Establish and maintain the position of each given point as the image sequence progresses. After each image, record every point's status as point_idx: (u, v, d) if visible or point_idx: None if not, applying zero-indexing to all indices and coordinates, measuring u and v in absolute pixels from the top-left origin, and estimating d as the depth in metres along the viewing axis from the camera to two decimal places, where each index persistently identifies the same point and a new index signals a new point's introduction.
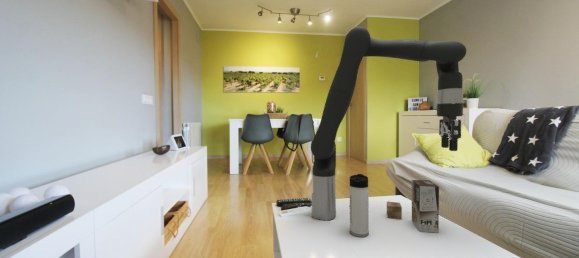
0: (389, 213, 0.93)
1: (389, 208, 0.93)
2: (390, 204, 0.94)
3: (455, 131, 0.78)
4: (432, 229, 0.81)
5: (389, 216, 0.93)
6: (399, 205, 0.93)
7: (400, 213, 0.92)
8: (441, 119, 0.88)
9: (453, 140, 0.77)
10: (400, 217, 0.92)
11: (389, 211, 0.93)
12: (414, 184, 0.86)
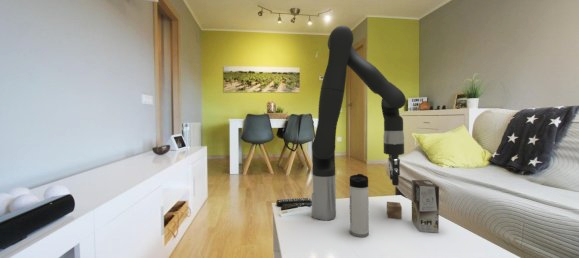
0: (389, 213, 0.93)
1: (389, 208, 0.93)
2: (390, 204, 0.94)
3: None
4: (432, 229, 0.81)
5: (389, 216, 0.93)
6: (399, 205, 0.93)
7: (400, 213, 0.92)
8: None
9: (394, 176, 0.89)
10: (400, 217, 0.92)
11: (389, 211, 0.93)
12: (414, 184, 0.86)
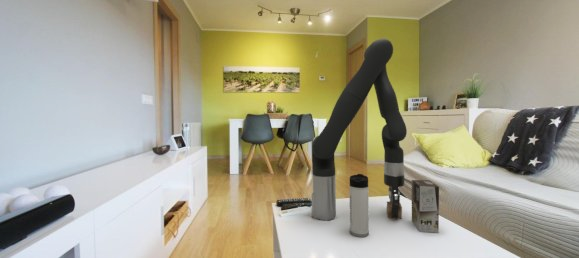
0: (389, 213, 0.93)
1: (389, 208, 0.93)
2: (390, 204, 0.94)
3: None
4: (432, 229, 0.81)
5: (389, 216, 0.93)
6: (399, 205, 0.93)
7: (400, 213, 0.92)
8: None
9: (394, 209, 0.91)
10: (400, 217, 0.92)
11: (389, 211, 0.93)
12: (414, 184, 0.86)
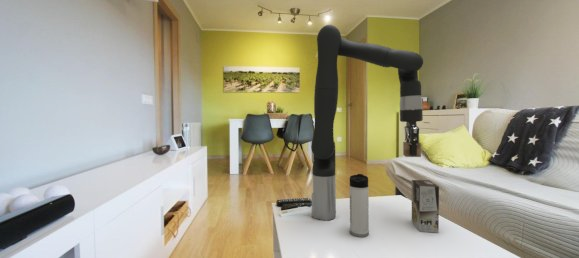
0: (407, 151, 0.86)
1: (407, 146, 0.86)
2: (408, 142, 0.88)
3: None
4: (432, 229, 0.81)
5: (407, 154, 0.86)
6: None
7: (419, 150, 0.85)
8: (405, 126, 0.94)
9: (412, 145, 0.84)
10: (419, 154, 0.85)
11: (407, 149, 0.86)
12: (414, 184, 0.86)
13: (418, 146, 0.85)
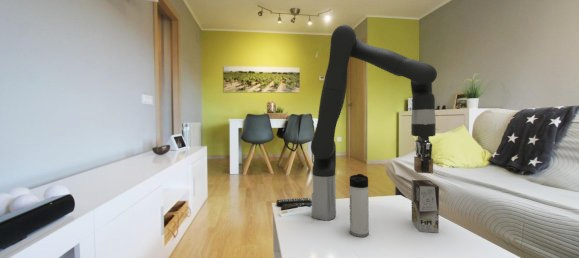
0: (419, 167, 0.83)
1: (419, 161, 0.83)
2: (419, 158, 0.84)
3: None
4: (432, 229, 0.81)
5: (419, 170, 0.83)
6: None
7: (431, 166, 0.81)
8: None
9: (424, 161, 0.81)
10: (431, 171, 0.81)
11: (419, 165, 0.83)
12: (414, 184, 0.86)
13: (430, 162, 0.81)
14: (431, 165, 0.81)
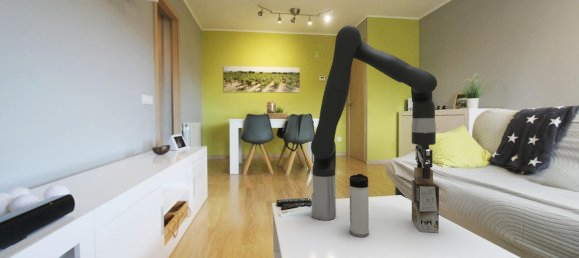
0: (418, 178, 0.83)
1: (418, 173, 0.83)
2: (419, 169, 0.84)
3: (428, 160, 0.80)
4: (432, 229, 0.81)
5: (418, 182, 0.83)
6: None
7: (431, 178, 0.82)
8: (417, 145, 0.90)
9: (425, 169, 0.80)
10: (431, 182, 0.82)
11: (418, 176, 0.83)
12: (414, 184, 0.86)
13: (430, 174, 0.82)
14: (431, 177, 0.82)
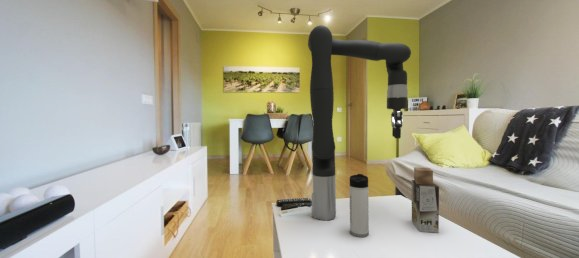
0: (418, 178, 0.83)
1: (418, 173, 0.83)
2: (419, 169, 0.84)
3: (399, 121, 0.90)
4: (432, 229, 0.81)
5: (418, 182, 0.83)
6: (429, 170, 0.83)
7: (431, 178, 0.82)
8: (393, 112, 1.00)
9: (397, 129, 0.89)
10: (431, 182, 0.82)
11: (418, 176, 0.83)
12: (414, 184, 0.86)
13: (430, 174, 0.82)
14: (431, 177, 0.82)
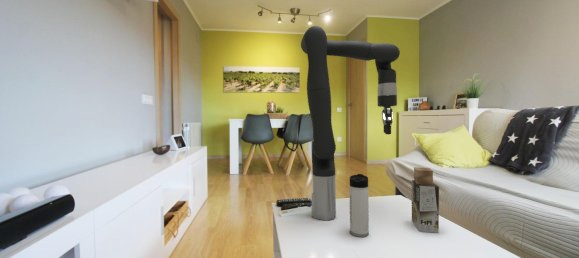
0: (418, 178, 0.83)
1: (418, 173, 0.83)
2: (419, 169, 0.84)
3: (389, 118, 0.95)
4: (432, 229, 0.81)
5: (418, 182, 0.83)
6: (429, 170, 0.83)
7: (431, 178, 0.82)
8: (384, 109, 1.04)
9: (387, 125, 0.94)
10: (431, 182, 0.82)
11: (418, 176, 0.83)
12: (414, 184, 0.86)
13: (430, 174, 0.82)
14: (431, 177, 0.82)
